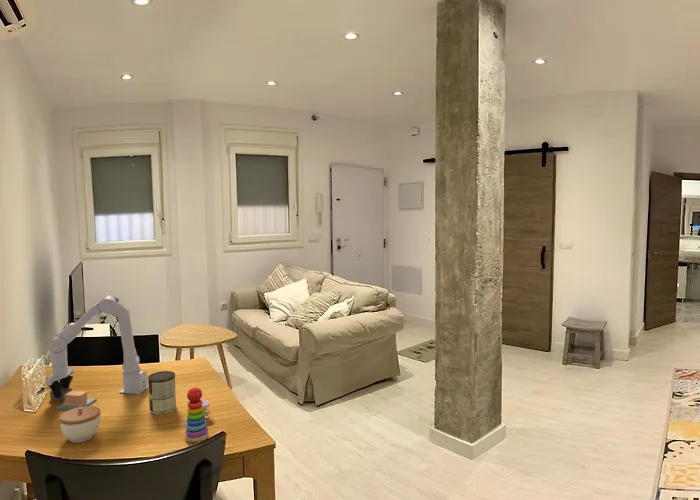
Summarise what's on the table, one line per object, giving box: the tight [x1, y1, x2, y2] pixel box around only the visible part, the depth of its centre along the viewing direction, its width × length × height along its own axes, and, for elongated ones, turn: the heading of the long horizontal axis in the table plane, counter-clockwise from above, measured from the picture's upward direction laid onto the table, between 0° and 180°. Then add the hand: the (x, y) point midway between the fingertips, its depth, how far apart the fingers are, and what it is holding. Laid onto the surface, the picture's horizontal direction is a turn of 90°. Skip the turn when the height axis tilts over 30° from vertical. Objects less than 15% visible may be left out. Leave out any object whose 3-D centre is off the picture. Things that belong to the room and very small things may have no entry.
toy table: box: [187, 398, 210, 417], centre depth 186 cm, size 10×9×6 cm
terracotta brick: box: [64, 390, 88, 405], centre depth 196 cm, size 7×4×4 cm, turn 84°
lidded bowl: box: [59, 405, 101, 444], centre depth 168 cm, size 13×13×11 cm
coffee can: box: [147, 370, 177, 415], centre depth 192 cm, size 10×10×14 cm
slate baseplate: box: [55, 397, 98, 411], centre depth 196 cm, size 11×10×1 cm
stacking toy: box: [184, 386, 209, 443], centre depth 167 cm, size 8×8×19 cm
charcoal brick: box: [49, 387, 73, 402], centre depth 202 cm, size 7×4×4 cm, turn 84°
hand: (61, 395), depth 202 cm, fingers closed on charcoal brick, 4 cm apart
